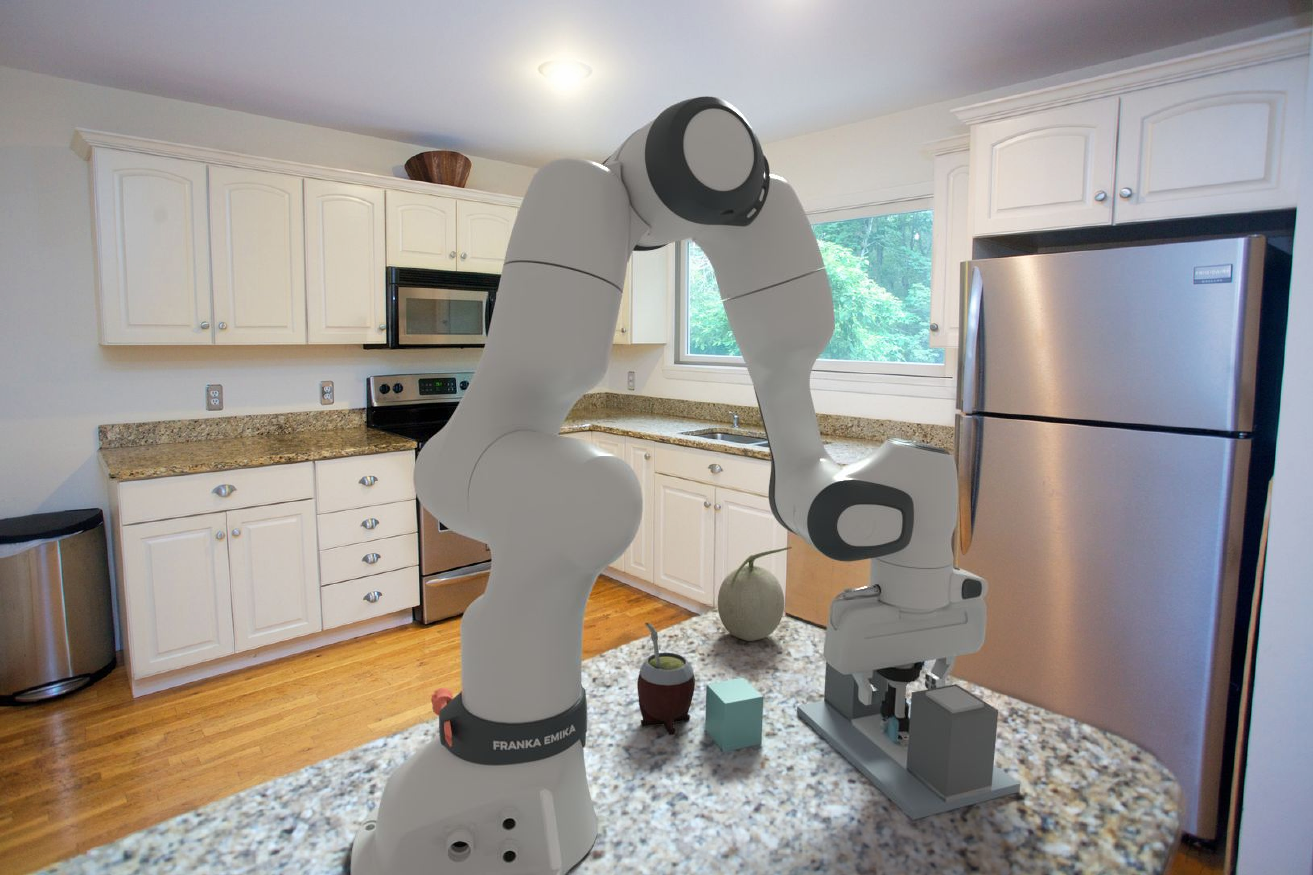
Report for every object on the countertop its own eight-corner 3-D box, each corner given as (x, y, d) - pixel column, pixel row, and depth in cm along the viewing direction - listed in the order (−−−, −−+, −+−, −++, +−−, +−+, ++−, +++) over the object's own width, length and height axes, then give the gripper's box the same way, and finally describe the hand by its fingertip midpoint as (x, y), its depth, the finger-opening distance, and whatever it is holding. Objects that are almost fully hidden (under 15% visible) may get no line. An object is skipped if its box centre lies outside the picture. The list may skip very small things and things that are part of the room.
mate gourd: (683, 704, 95) (686, 594, 93) (703, 736, 88) (707, 617, 85) (627, 711, 93) (629, 599, 91) (643, 745, 86) (645, 623, 83)
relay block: (763, 696, 86) (761, 743, 86) (743, 677, 90) (741, 722, 91) (725, 703, 84) (723, 752, 85) (706, 683, 88) (705, 730, 89)
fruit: (700, 639, 116) (702, 548, 113) (740, 619, 124) (743, 533, 122) (756, 659, 109) (760, 562, 107) (795, 636, 118) (799, 546, 115)
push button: (929, 752, 82) (935, 668, 81) (882, 752, 82) (887, 668, 81) (907, 721, 89) (912, 643, 87) (863, 721, 89) (868, 642, 87)
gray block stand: (912, 819, 73) (920, 722, 72) (796, 712, 93) (800, 635, 92) (1019, 791, 78) (1028, 700, 77) (887, 695, 98) (892, 622, 97)
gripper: (849, 600, 76) (841, 724, 78) (1000, 581, 83) (990, 694, 85) (815, 581, 82) (809, 697, 84) (959, 564, 89) (951, 671, 91)
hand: (901, 695), depth 85 cm, fingers open, 8 cm apart
